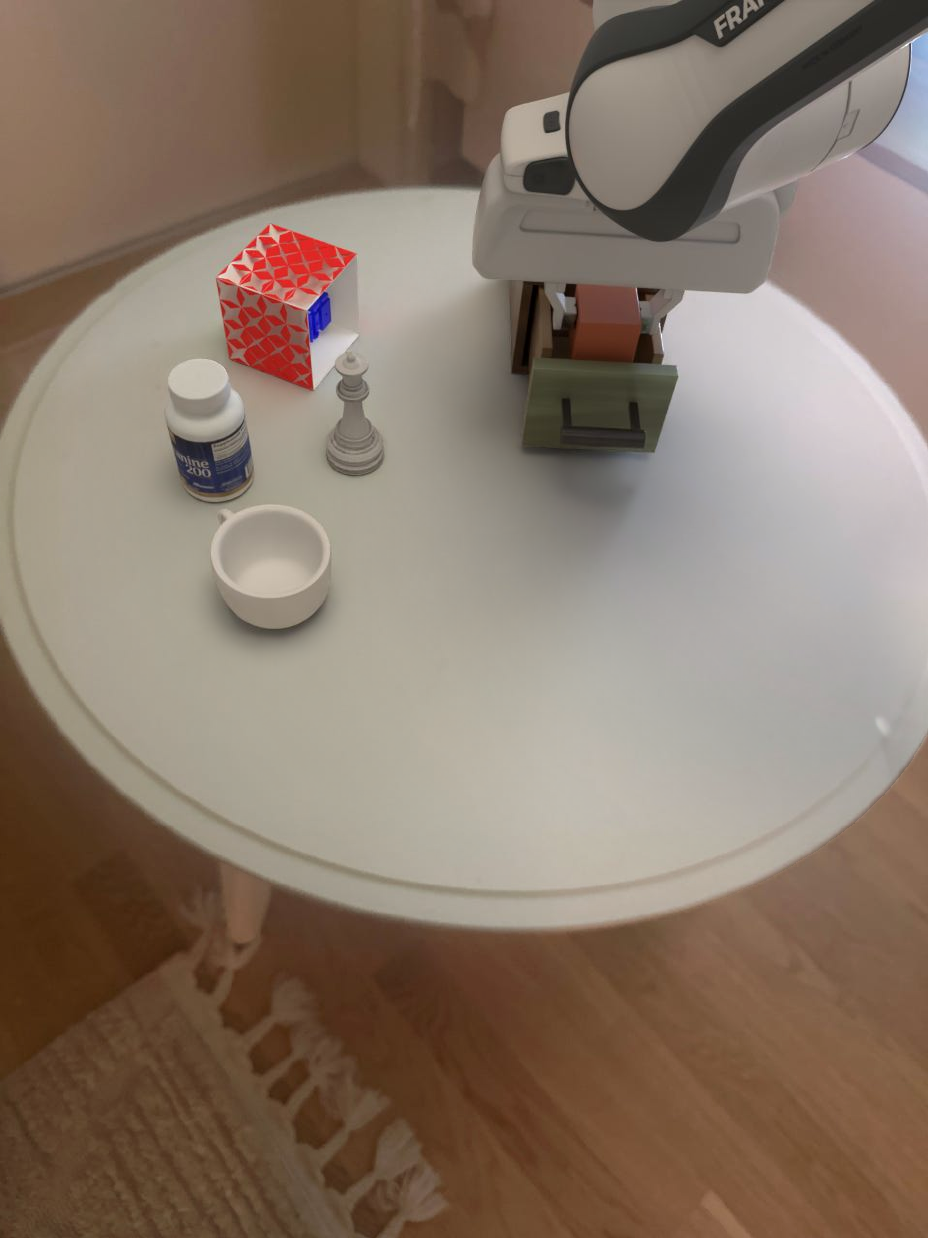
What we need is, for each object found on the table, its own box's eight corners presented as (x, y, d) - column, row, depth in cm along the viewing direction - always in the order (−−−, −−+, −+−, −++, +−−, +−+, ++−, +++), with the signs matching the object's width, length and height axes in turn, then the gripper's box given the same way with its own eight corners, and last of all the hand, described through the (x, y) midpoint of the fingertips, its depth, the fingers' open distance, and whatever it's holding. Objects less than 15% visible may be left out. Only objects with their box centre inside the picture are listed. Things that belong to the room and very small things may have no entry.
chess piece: (336, 482, 74) (330, 381, 66) (319, 442, 76) (310, 339, 68) (391, 468, 75) (392, 367, 67) (373, 429, 77) (371, 326, 69)
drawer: (660, 493, 74) (685, 418, 68) (523, 486, 74) (535, 409, 67) (640, 345, 84) (661, 267, 77) (518, 339, 83) (529, 259, 77)
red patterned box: (279, 304, 85) (270, 222, 79) (359, 333, 84) (357, 252, 77) (229, 359, 81) (214, 277, 74) (313, 391, 79) (306, 310, 73)
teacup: (357, 604, 68) (355, 556, 63) (266, 665, 65) (257, 619, 60) (271, 518, 72) (263, 467, 67) (181, 572, 68) (166, 522, 64)
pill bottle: (166, 476, 73) (139, 376, 65) (223, 440, 76) (203, 339, 68) (213, 516, 71) (190, 418, 63) (269, 478, 74) (255, 379, 66)
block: (625, 334, 75) (636, 286, 72) (630, 373, 73) (642, 325, 69) (568, 331, 75) (576, 283, 72) (571, 370, 73) (580, 322, 69)
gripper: (799, 128, 63) (737, 307, 74) (480, 108, 62) (467, 291, 73) (818, 185, 59) (749, 363, 71) (480, 164, 59) (466, 348, 70)
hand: (603, 327), depth 72 cm, fingers open, 5 cm apart
